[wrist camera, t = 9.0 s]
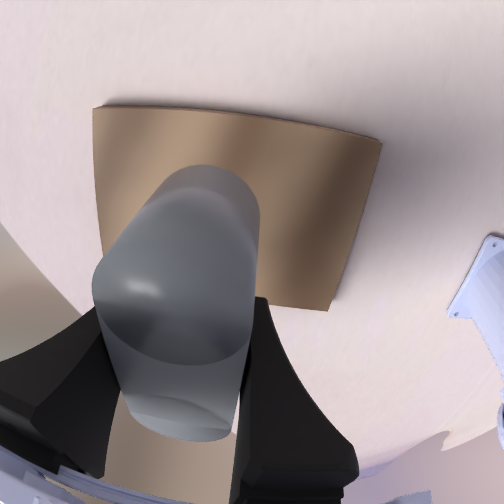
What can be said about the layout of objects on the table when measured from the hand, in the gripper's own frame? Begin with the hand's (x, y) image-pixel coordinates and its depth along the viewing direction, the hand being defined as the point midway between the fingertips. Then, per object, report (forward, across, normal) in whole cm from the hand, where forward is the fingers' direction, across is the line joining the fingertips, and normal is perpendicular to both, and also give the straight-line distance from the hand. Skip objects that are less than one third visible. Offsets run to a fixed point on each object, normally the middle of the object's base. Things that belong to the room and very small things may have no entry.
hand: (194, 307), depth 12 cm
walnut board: (+8, 0, 0) cm, 8 cm away
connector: (+1, 0, +1) cm, 2 cm away
